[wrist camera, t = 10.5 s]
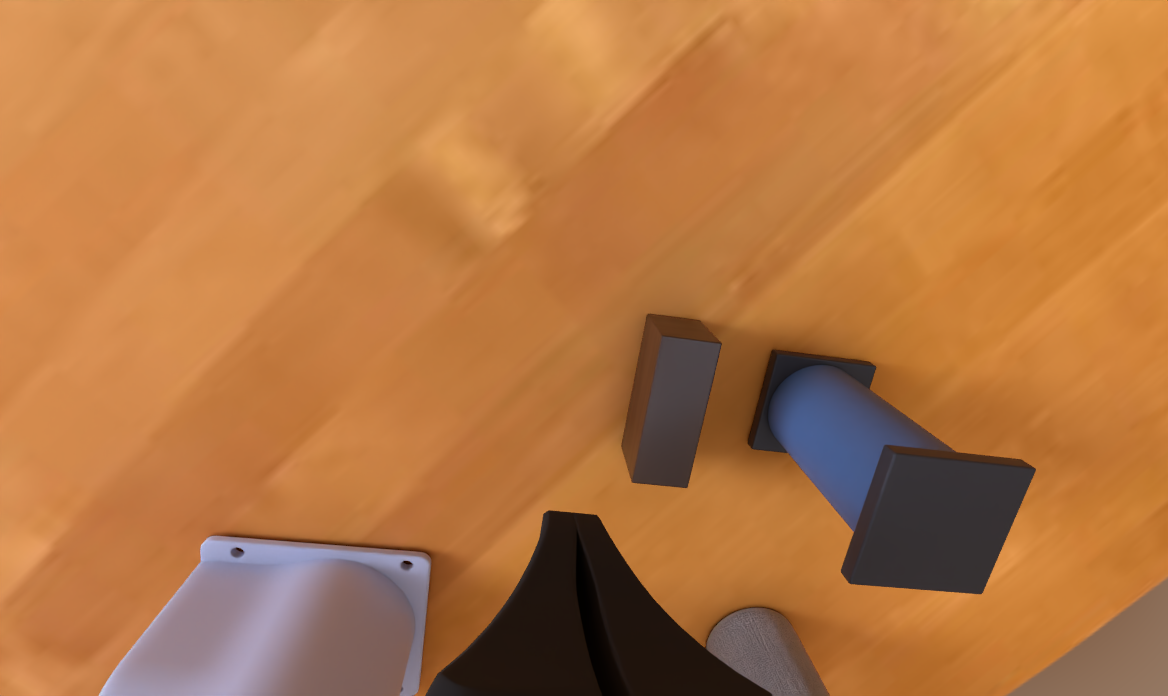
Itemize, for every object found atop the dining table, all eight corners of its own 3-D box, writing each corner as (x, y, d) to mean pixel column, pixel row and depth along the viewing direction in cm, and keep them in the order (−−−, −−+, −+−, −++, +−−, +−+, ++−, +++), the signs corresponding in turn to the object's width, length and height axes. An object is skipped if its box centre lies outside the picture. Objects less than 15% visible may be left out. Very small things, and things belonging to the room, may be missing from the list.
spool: (677, 501, 21) (977, 646, 16) (704, 384, 19) (1040, 505, 15) (768, 426, 29) (988, 509, 24) (792, 338, 27) (1030, 408, 23)
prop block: (620, 446, 26) (631, 483, 23) (647, 313, 24) (661, 335, 21) (671, 452, 26) (687, 489, 23) (700, 320, 24) (722, 343, 22)
